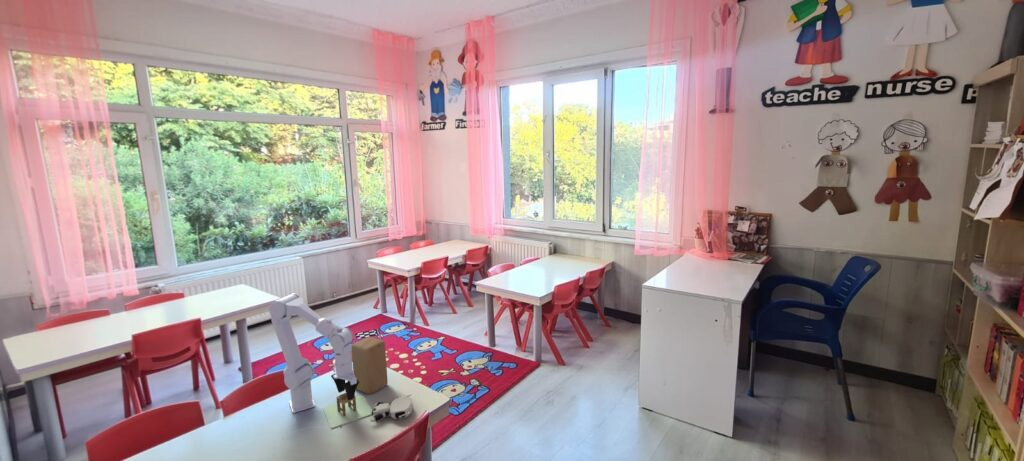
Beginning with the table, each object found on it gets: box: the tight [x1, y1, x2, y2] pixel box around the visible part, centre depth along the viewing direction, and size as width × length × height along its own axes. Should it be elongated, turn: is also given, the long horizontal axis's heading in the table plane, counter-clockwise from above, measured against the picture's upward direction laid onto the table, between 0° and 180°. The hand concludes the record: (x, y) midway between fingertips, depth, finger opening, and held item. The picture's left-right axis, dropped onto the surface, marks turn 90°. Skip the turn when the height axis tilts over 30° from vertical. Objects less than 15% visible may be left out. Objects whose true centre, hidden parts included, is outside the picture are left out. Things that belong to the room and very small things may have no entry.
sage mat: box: [322, 394, 373, 430], centre depth 160 cm, size 15×15×1 cm
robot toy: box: [369, 393, 414, 423], centre depth 157 cm, size 12×4×15 cm
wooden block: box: [351, 336, 388, 395], centre depth 175 cm, size 10×10×20 cm
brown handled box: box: [335, 392, 357, 416], centre depth 159 cm, size 5×5×6 cm
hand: (346, 395), depth 159 cm, fingers open, 7 cm apart
